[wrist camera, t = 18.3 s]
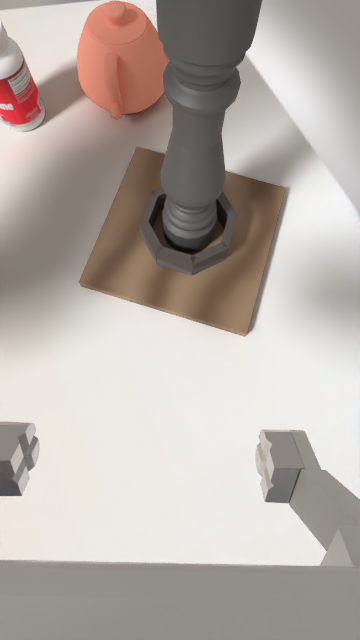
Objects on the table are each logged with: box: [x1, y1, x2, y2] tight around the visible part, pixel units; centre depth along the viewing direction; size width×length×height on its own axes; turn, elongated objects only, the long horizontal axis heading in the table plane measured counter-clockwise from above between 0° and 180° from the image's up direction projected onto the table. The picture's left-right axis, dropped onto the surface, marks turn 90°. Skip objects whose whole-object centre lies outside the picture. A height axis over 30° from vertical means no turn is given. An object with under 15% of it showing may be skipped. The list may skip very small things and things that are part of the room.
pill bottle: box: [0, 20, 45, 132], centre depth 41 cm, size 6×6×11 cm
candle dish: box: [79, 147, 286, 336], centre depth 39 cm, size 20×20×4 cm
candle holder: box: [156, 0, 262, 253], centre depth 28 cm, size 6×6×25 cm
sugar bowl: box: [77, 1, 168, 119], centre depth 42 cm, size 12×14×10 cm
